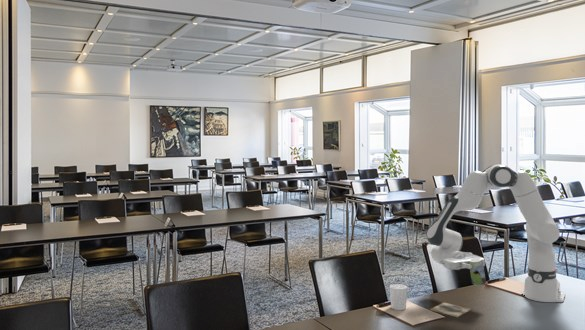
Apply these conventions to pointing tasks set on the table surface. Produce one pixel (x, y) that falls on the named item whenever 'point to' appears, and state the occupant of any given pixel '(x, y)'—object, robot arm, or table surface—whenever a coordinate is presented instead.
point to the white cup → (398, 296)
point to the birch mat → (450, 309)
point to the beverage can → (477, 272)
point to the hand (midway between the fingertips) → (475, 266)
